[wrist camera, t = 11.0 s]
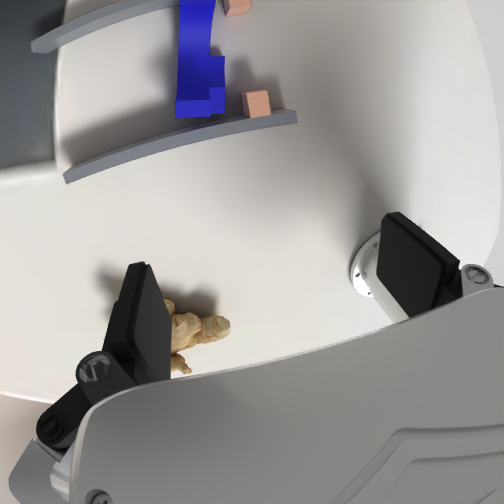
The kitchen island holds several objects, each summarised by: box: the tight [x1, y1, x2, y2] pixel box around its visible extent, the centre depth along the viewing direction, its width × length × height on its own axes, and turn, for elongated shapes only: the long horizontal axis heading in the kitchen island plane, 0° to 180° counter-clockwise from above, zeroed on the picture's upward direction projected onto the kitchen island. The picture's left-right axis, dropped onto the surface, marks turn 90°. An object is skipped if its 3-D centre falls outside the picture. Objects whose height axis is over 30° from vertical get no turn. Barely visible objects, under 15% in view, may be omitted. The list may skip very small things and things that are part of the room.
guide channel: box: [31, 0, 297, 184], centre depth 22 cm, size 24×16×4 cm
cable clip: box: [175, 0, 225, 118], centre depth 22 cm, size 12×4×6 cm, turn 177°
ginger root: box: [164, 299, 230, 374], centre depth 39 cm, size 16×16×8 cm
